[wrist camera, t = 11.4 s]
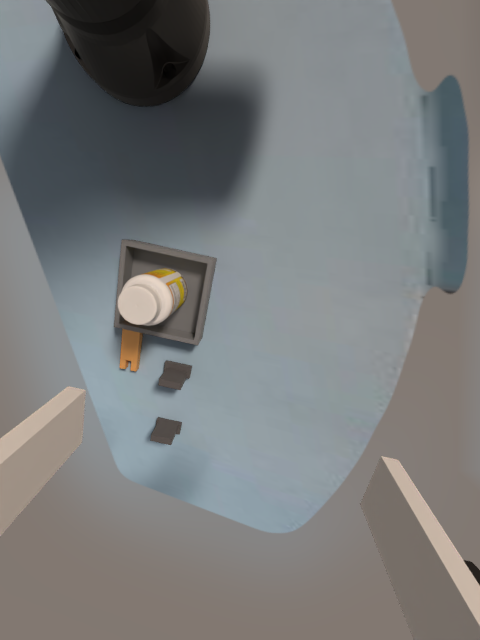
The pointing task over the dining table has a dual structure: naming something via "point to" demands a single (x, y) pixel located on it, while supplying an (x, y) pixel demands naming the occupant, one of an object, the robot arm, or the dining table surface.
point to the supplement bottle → (152, 296)
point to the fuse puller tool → (130, 349)
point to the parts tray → (194, 270)
